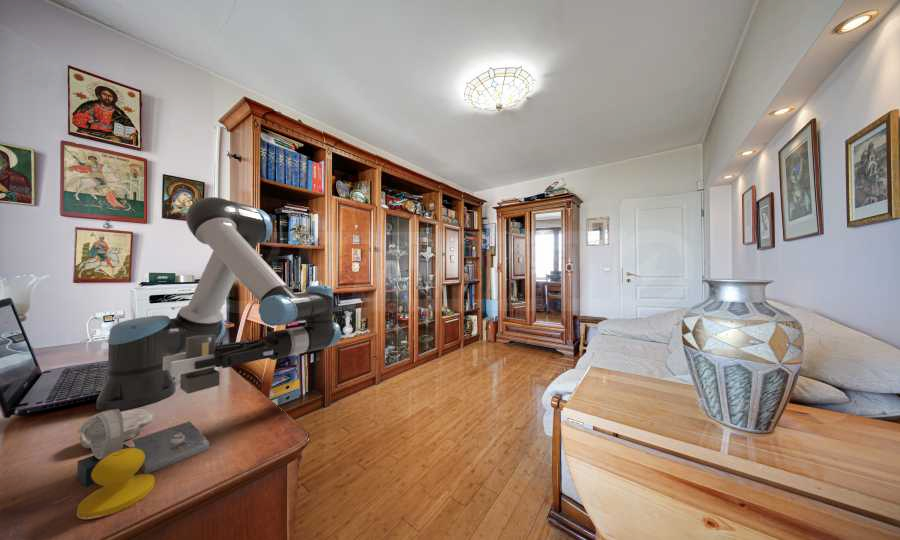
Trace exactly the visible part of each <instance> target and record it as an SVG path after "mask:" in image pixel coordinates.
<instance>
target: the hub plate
mask: <svg viewBox="0 0 900 540" xmlns="http://www.w3.org/2000/svg"><path fill="white" fill-rule="evenodd" d="M131 448H137V449H140V450H142V451H143V452H144V454H145V460H144V462H143V464H142V466H141V467H140V468H141V469H142V471H143V474H151V473H154V472H156V471H158V470H161V469H164V468H165V467H168V466H170V465H173V464H176V463H178V462H180V461H183V460H185V459H188V458H190V457H193V456H194V455H195V456H196V455H197V454H200V453H203V452H205V451H207V450H210V441H209V440H208V439H207V438H206V437H205V436H204V434H203V433H201V431H200V430H199V429H198V428H197V427H196V426H195V425H194V424H193V423H192V422H191V421H190V420H189V421H186V422H183V423H180V424H176V425H174V426H171V427H167V428H165V429H162V430H158V431H156V432H152V433H150V434H147V435H143V436H140V437H137V438H134V439H131Z"/></svg>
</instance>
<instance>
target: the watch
mask: <svg viewBox="0 0 900 540" xmlns="http://www.w3.org/2000/svg"><path fill="white" fill-rule="evenodd" d="M121 412H122V411H121V410H119V409H116V410H108V411H100V412H98V413H96V414H94V415H92V416H91V417H89V418H87V419H85V421H84V422H83V423H82V424H81V426H80V427H79V428H77V432H76V433H77V434H82V433H83V435H84V436H85V438H86V440H87V441H90V445H91V448H90V449H91V452H92V454H93V455H90V456H87V457H86V458H83V459H81V460H78V461H77V470H76V472H77V473H76V479H77V481H79V482H80V483H81V484H82V485H83V486H84V487H88V486H91V485H93V484H96V482H94V481H93V479H92V477H91V473H92V471H93V469H94V467H95V466H96V465H97V464H98V463H99V462H100V461H101V460H102V459H103V458H105V457H106V456H108V455H110V454H112V453H114V452H116V451H119V450H122V449H127V448H131V447H130V446H129V445H127V444H125V443H124V442H125V441H124V438H125V435H124V424H123V417H122V413H121ZM104 440H105V441H104ZM101 441H102V442H101Z"/></svg>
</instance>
